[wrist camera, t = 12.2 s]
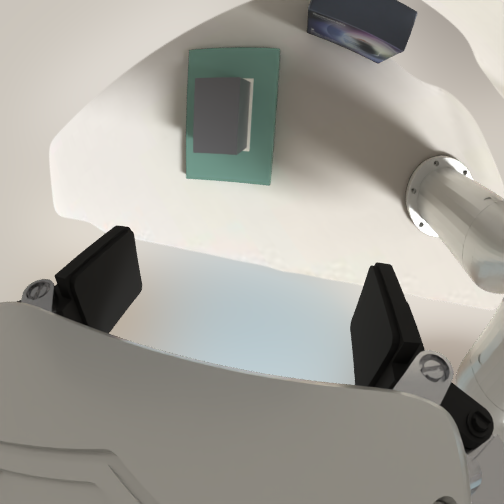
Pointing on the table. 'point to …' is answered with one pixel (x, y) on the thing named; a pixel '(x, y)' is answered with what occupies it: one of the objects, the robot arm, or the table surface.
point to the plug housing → (221, 115)
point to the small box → (363, 25)
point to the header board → (259, 120)
